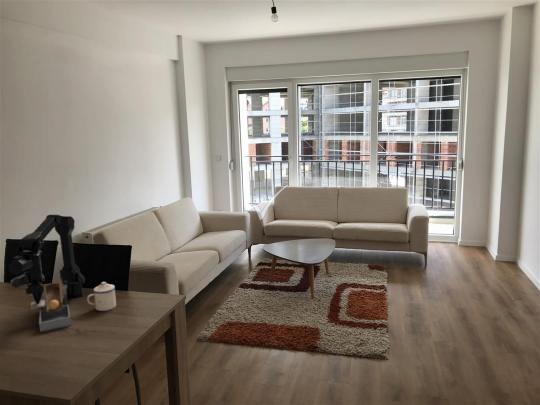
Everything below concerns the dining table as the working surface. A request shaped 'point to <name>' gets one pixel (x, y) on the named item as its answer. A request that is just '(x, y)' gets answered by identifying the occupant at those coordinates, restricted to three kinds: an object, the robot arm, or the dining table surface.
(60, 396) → the dining table surface
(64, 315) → the bin
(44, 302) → the chute
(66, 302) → the stand
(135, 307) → the dining table surface
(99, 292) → the teacup with lid
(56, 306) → the ball
